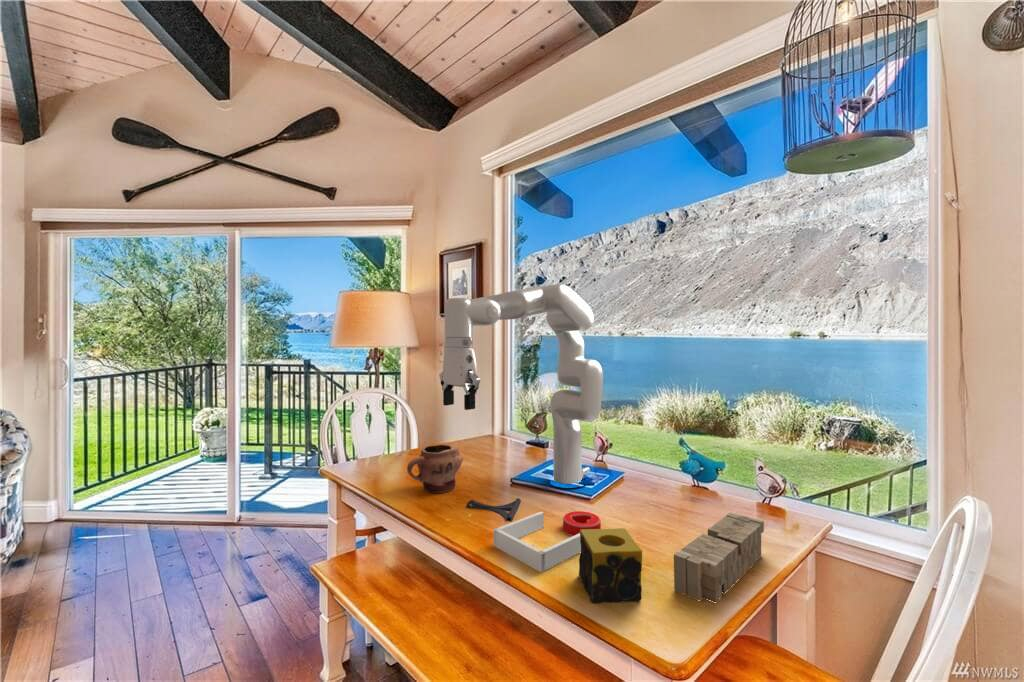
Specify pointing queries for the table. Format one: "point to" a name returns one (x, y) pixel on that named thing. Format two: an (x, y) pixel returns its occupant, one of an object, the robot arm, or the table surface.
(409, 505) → the table surface
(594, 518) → the decorative ornament
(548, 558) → the rail
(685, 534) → the table surface
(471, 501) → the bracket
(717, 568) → the block tower
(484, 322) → the robot arm
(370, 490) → the table surface
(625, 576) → the olive cube with hole
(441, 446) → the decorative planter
